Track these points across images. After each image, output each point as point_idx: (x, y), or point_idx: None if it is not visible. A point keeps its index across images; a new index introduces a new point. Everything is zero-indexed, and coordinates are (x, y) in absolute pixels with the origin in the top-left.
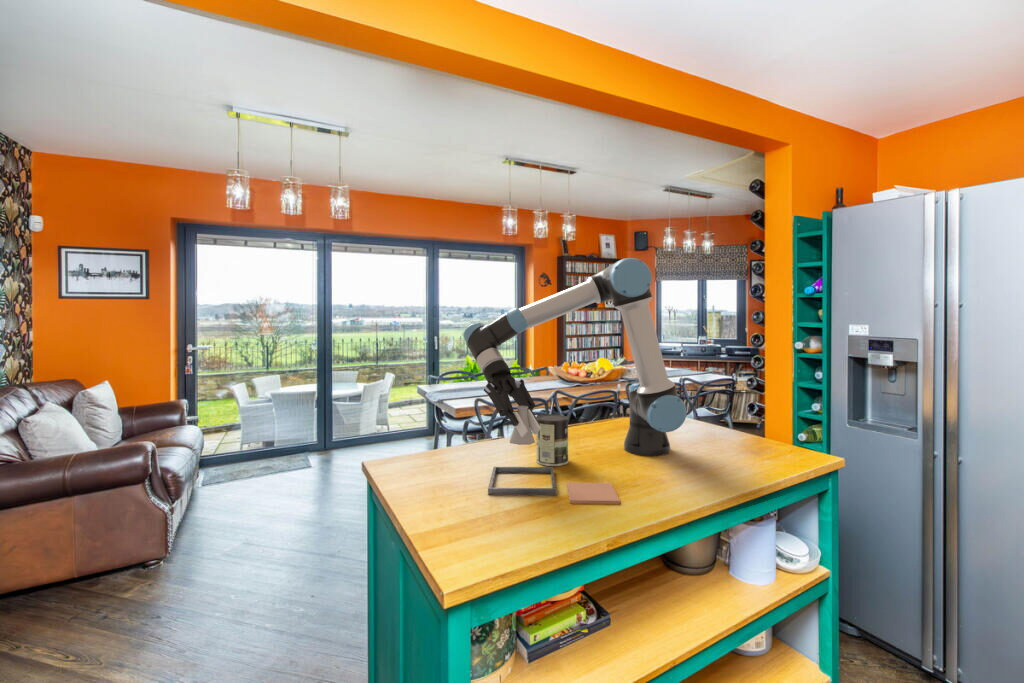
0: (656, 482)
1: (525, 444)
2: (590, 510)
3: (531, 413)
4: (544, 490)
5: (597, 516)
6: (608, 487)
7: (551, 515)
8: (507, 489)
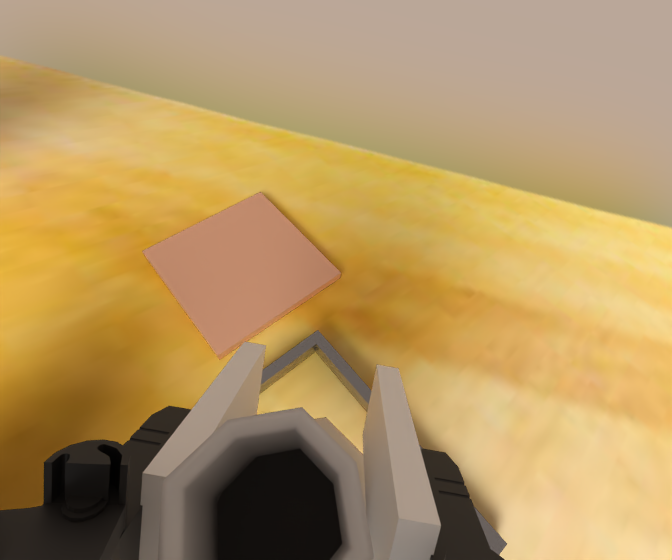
0: (53, 186)
1: (345, 437)
2: (340, 227)
3: (190, 427)
4: (343, 361)
5: (357, 205)
6: (185, 242)
7: (433, 276)
8: None
